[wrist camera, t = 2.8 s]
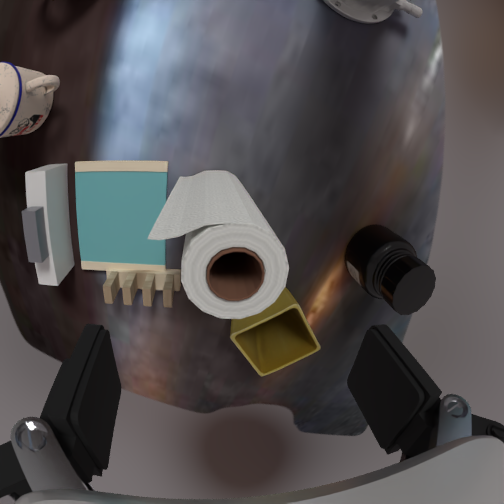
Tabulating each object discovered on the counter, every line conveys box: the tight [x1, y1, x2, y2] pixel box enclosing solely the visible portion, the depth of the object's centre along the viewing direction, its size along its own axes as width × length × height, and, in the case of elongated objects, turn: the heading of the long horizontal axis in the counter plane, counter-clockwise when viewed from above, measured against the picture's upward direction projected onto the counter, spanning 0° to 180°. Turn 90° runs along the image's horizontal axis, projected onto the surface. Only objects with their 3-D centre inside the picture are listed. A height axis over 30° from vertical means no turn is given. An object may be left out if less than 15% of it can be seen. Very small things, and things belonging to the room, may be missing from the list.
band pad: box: [75, 161, 168, 271], centre depth 34 cm, size 12×14×1 cm
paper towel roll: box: [148, 170, 289, 319], centre depth 26 cm, size 7×6×21 cm
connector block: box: [22, 164, 74, 286], centre depth 29 cm, size 3×14×8 cm, turn 174°
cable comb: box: [103, 268, 181, 307], centre depth 36 cm, size 10×2×6 cm, turn 84°
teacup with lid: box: [0, 62, 60, 138], centre depth 21 cm, size 12×9×12 cm
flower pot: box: [230, 287, 320, 376], centre depth 39 cm, size 9×9×9 cm
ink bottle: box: [345, 225, 436, 315], centre depth 37 cm, size 10×9×12 cm
